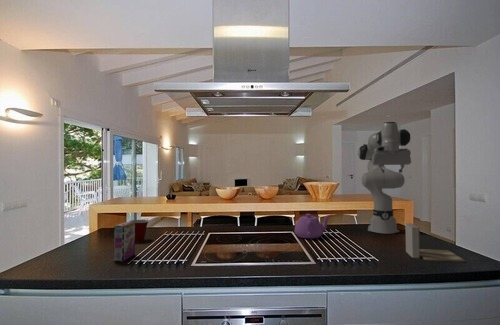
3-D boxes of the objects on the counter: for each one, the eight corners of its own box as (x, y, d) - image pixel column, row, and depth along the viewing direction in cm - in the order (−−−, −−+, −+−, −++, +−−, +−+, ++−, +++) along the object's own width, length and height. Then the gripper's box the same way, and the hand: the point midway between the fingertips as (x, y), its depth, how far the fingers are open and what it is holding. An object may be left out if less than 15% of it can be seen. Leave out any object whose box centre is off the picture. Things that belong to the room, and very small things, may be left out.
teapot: (333, 241, 162) (332, 217, 162) (294, 240, 165) (294, 216, 165) (328, 233, 183) (328, 211, 184) (294, 232, 187) (294, 211, 187)
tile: (405, 251, 142) (405, 223, 142) (412, 251, 141) (412, 223, 141) (412, 257, 132) (412, 227, 132) (419, 258, 131) (419, 227, 132)
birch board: (412, 250, 144) (412, 248, 144) (448, 251, 140) (448, 250, 140) (424, 260, 128) (424, 258, 128) (465, 262, 125) (465, 260, 125)
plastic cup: (152, 240, 170) (152, 219, 170) (135, 243, 161) (135, 222, 162) (142, 237, 176) (142, 218, 177) (126, 241, 168) (125, 220, 168)
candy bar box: (123, 262, 130) (123, 226, 130) (113, 261, 130) (113, 225, 131) (135, 254, 141) (135, 221, 141) (125, 254, 142) (125, 221, 142)
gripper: (408, 149, 166) (409, 172, 165) (371, 150, 171) (371, 173, 169) (412, 147, 160) (413, 172, 159) (373, 148, 165) (374, 172, 163)
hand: (391, 172), depth 164 cm, fingers open, 8 cm apart
